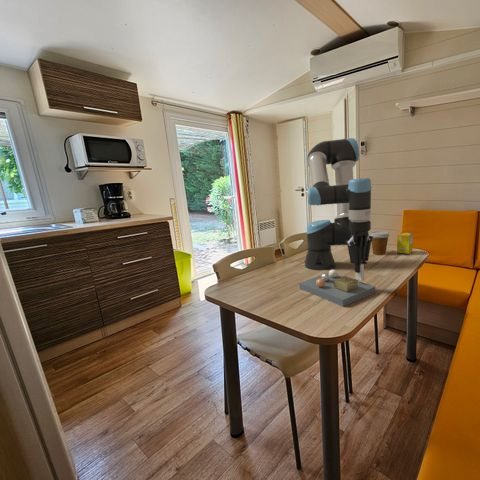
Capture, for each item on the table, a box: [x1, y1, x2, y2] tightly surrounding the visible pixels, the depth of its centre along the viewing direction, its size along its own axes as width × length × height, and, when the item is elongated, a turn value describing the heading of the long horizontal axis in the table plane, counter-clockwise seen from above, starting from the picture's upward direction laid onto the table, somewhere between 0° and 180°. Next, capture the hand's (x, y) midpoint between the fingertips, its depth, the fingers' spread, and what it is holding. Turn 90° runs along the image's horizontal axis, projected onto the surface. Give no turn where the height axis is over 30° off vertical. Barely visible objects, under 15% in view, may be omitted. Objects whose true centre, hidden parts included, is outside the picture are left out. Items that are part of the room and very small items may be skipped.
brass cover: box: [334, 275, 359, 292], centre depth 100 cm, size 6×6×3 cm
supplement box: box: [396, 232, 414, 256], centre depth 143 cm, size 6×6×11 cm
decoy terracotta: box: [316, 279, 325, 287], centre depth 103 cm, size 3×3×3 cm
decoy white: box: [328, 269, 338, 278], centre depth 112 cm, size 3×3×3 cm
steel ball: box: [320, 272, 330, 281], centre depth 108 cm, size 3×3×3 cm
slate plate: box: [298, 272, 376, 307], centre depth 105 cm, size 22×18×2 cm
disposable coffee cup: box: [369, 230, 390, 256], centre depth 147 cm, size 10×10×12 cm
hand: (359, 279), depth 103 cm, fingers closed
